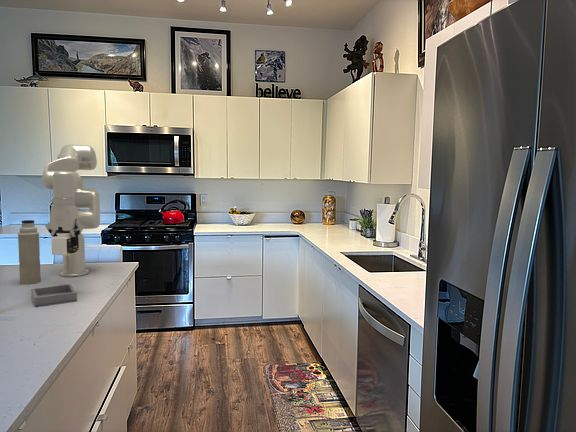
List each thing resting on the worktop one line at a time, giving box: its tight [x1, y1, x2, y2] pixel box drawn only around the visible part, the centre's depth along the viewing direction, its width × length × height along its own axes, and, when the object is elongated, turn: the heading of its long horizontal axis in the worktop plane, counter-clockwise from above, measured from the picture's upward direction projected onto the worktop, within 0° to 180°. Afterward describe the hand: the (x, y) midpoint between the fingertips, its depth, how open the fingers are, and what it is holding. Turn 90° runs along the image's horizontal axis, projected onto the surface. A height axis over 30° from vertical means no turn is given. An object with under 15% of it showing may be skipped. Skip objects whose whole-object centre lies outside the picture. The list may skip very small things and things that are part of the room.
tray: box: [30, 283, 78, 308], centre depth 165 cm, size 14×14×4 cm
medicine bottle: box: [50, 227, 79, 256], centre depth 170 cm, size 7×7×12 cm
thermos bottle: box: [17, 219, 42, 285], centre depth 187 cm, size 8×8×28 cm
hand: (65, 245), depth 170 cm, fingers closed on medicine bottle, 7 cm apart
